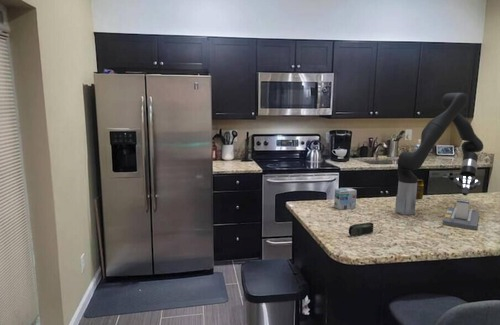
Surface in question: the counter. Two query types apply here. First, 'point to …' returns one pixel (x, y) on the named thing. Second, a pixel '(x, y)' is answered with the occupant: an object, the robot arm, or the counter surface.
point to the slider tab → (462, 208)
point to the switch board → (462, 223)
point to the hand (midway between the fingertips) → (464, 194)
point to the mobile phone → (360, 229)
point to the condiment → (419, 190)
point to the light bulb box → (345, 198)
